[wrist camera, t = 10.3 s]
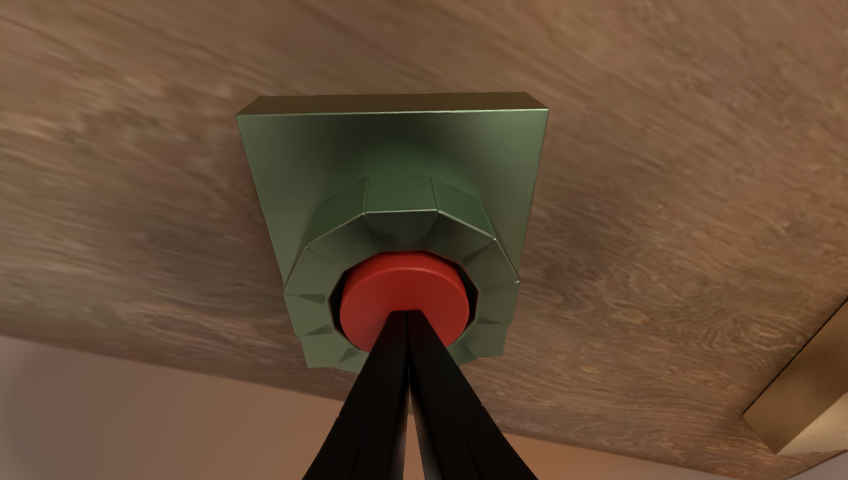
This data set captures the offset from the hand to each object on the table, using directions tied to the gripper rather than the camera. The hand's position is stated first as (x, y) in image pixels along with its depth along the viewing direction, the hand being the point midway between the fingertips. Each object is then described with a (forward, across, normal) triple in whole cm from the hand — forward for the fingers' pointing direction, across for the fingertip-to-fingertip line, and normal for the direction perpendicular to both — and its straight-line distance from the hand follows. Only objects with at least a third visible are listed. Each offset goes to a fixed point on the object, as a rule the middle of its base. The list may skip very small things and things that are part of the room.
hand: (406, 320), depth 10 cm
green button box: (+4, 0, 0) cm, 4 cm away
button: (+2, 0, 0) cm, 2 cm away
